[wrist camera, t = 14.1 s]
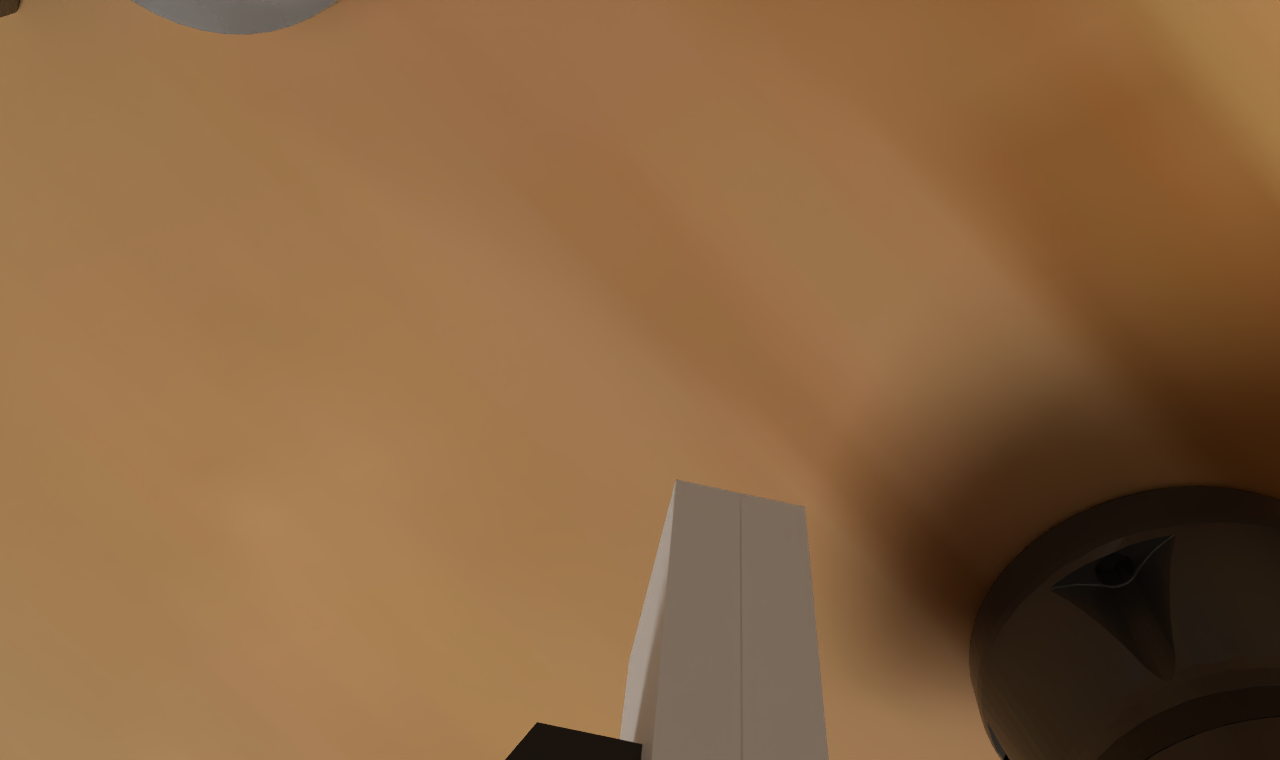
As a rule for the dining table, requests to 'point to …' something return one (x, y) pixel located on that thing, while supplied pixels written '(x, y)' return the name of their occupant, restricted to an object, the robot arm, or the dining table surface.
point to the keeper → (8, 7)
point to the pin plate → (237, 13)
